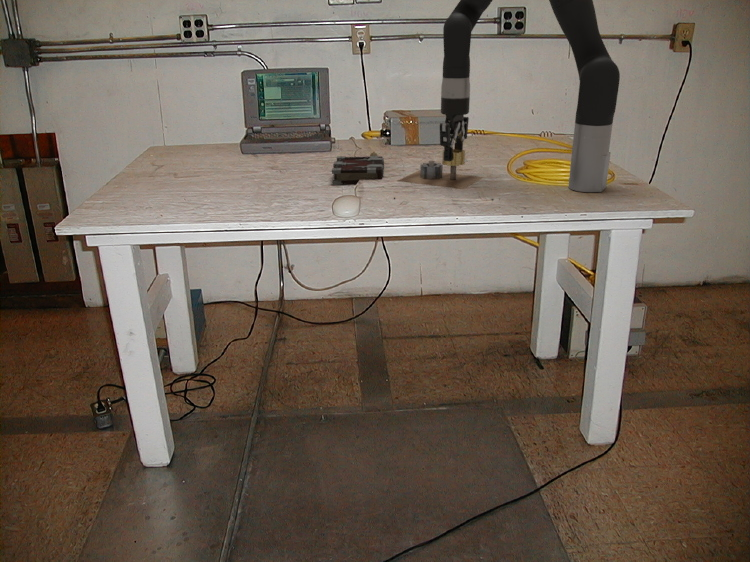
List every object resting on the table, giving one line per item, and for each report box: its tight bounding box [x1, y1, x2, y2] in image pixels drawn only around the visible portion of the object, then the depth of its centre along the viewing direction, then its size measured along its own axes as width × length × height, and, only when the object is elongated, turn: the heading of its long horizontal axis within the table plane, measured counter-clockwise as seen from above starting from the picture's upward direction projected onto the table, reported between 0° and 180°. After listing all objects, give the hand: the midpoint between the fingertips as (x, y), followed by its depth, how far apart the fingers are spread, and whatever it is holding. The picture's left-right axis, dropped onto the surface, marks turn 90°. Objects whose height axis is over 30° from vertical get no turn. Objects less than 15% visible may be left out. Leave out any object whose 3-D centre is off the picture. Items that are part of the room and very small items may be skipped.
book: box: [331, 151, 385, 186], centre depth 186 cm, size 15×25×5 cm, turn 178°
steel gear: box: [419, 162, 444, 180], centre depth 175 cm, size 6×6×4 cm
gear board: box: [397, 160, 484, 190], centre depth 173 cm, size 20×14×6 cm
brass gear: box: [441, 148, 466, 167], centre depth 170 cm, size 6×6×4 cm
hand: (453, 158), depth 170 cm, fingers closed on brass gear, 6 cm apart
